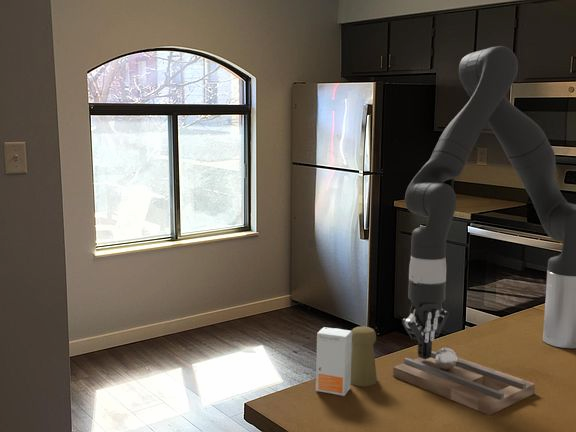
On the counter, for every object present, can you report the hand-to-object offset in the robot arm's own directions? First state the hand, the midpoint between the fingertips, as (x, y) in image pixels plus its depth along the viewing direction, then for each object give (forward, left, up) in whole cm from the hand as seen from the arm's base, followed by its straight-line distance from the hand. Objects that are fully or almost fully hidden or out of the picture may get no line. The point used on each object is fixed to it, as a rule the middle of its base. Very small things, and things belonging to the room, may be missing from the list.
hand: (424, 357), depth 138 cm
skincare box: (+22, -4, -3) cm, 23 cm away
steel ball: (0, +6, +1) cm, 6 cm away
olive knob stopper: (+14, -4, -3) cm, 15 cm away
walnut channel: (0, +10, -3) cm, 10 cm away
